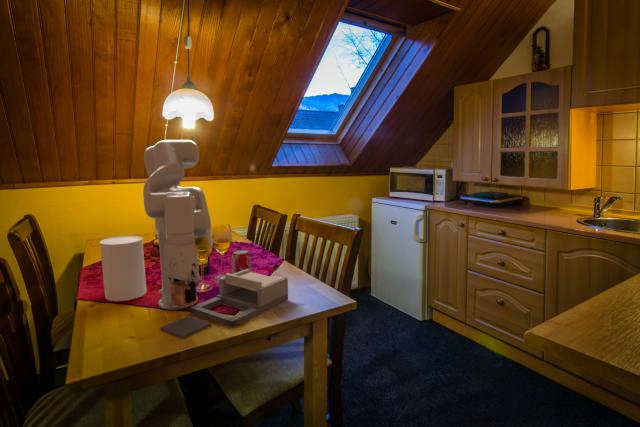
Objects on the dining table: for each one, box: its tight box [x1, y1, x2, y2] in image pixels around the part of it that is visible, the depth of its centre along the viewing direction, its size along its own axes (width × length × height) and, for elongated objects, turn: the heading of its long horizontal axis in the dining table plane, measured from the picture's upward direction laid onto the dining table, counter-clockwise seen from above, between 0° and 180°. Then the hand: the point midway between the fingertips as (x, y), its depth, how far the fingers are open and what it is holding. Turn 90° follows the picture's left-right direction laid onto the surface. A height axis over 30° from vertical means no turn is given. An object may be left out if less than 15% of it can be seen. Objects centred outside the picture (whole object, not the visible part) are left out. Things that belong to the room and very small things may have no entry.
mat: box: [160, 315, 212, 339], centre depth 121 cm, size 10×10×1 cm
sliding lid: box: [224, 271, 280, 291], centre depth 141 cm, size 15×12×3 cm
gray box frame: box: [189, 269, 289, 329], centre depth 136 cm, size 19×26×8 cm
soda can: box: [231, 249, 252, 274], centre depth 161 cm, size 7×7×12 cm
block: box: [170, 280, 198, 307], centre depth 119 cm, size 5×5×6 cm
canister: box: [99, 235, 148, 302], centre depth 147 cm, size 14×14×20 cm
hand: (184, 299), depth 119 cm, fingers closed on block, 5 cm apart
